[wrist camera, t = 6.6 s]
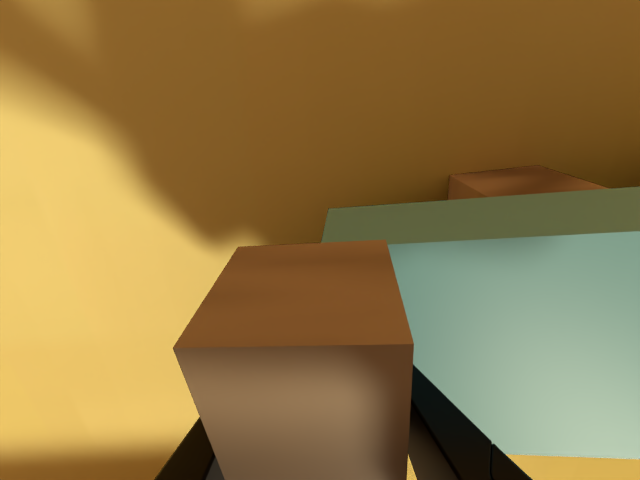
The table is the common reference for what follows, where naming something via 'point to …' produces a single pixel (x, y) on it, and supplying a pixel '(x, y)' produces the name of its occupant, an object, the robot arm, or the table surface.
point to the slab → (522, 311)
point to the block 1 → (303, 364)
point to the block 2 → (514, 183)
